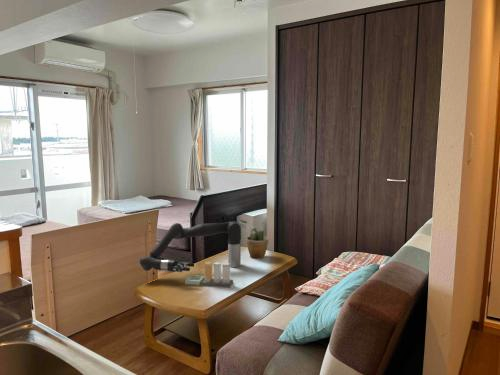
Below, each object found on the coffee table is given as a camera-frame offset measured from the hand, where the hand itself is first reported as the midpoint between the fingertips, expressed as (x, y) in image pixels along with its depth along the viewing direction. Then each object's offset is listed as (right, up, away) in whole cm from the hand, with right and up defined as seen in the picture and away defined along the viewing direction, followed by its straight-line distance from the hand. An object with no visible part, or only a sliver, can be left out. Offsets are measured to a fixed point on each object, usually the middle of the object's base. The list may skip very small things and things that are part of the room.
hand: (191, 267), depth 249 cm
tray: (+2, -10, +1) cm, 11 cm away
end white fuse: (+23, -9, -4) cm, 25 cm away
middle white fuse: (+17, -9, -2) cm, 19 cm away
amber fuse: (+11, -8, -1) cm, 14 cm away
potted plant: (+44, -4, +55) cm, 71 cm away
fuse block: (+17, -11, -2) cm, 20 cm away
